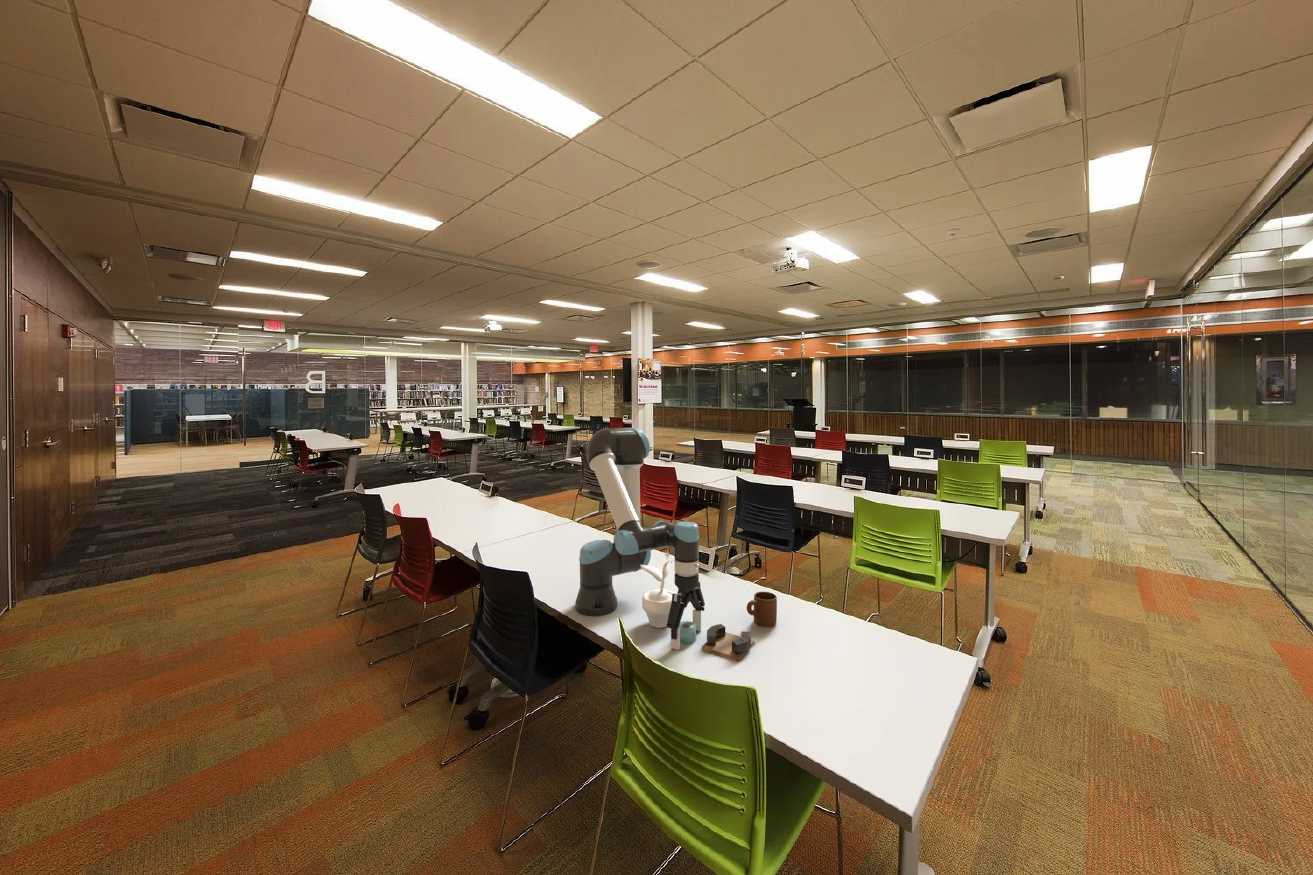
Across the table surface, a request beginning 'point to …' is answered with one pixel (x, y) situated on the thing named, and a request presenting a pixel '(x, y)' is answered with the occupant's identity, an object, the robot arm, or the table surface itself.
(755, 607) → the mug
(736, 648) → the pair of curved blocks
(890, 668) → the table surface
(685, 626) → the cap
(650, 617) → the potted plant
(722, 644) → the board
